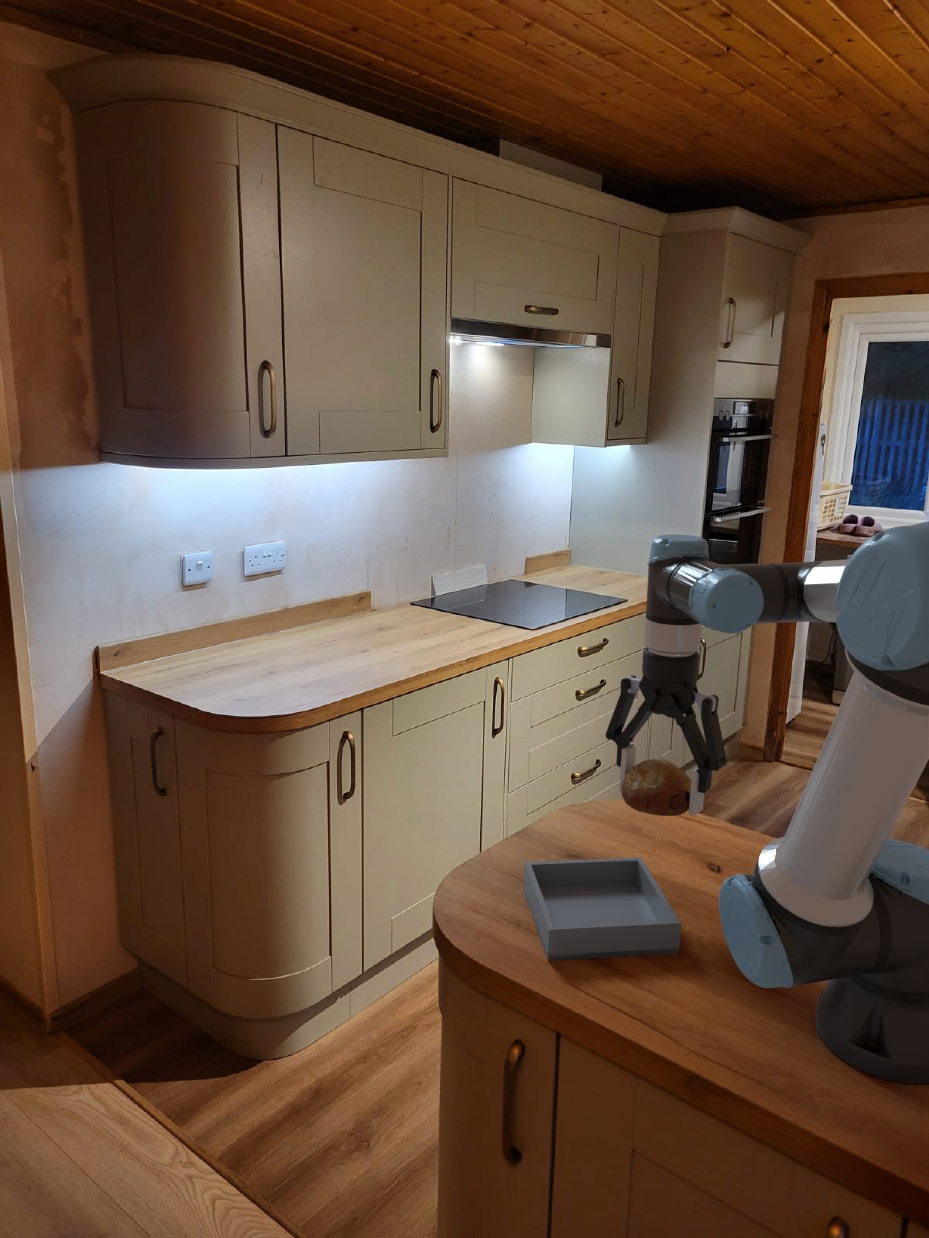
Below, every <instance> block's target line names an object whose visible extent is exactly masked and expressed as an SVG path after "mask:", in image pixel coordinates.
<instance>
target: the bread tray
mask: <svg viewBox="0 0 929 1238" xmlns="http://www.w3.org/2000/svg"><path fill="white" fill-rule="evenodd" d="M523 870H524V871H523V872H524V873H523V892H524V895H525V898H526V901H527V903H528V907H529V910H530V913H531V915H532V918H533V922H534V925H535V928H536V931H537V934H538V936H539V939H540V942H541V946H542V948H543V951H544V954H545V956H546V960H547V961H563V960H564V961H567V960H568V961H569V960H581V959H582V960H583V959H584V960H585V959H601V958H602V959H603V958H604V959H605V958H619V957H624V958H625V957H636V956H637V957H639V956H640V957H641V956H656V955H657V956H659V955H677V954H680V944H681V932H682V931H681V930H682V922H681V921H680V918H679V917H678V915H677V914H676V912H675V910H674V909H673V907H672V906H671V903H670V902H669V901H668V899H667V897H666V895H665V894H664V892H663V891H662V889H661V887H660V886H659V883H658V882H657V881H656V879H655V878H654V876H653V874H652V873H651V871H650V869H649V868H648V866H647V864H646V863H645V862H644V860H643V858H642V856H641V857H622V858H621V857H619V858H618V857H617V858H616V857H615V858H598V859H597V858H595V859H591V858H590V859H575V860H574V859H572V860H571V859H570V860H569V859H568V860H567V859H566V860H549V861H547V860H546V861H525V862H524V869H523Z"/></svg>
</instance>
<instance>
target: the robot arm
mask: <svg viewBox="0 0 929 1238" xmlns="http://www.w3.org/2000/svg"><path fill="white" fill-rule="evenodd" d="M650 545H651V546H650V553H649V560H648V562H647V566H648V567H647V568H648V573H647V589H646V609H645V610H646V611H645V622H644V634H643V645H644V646H645V648H644V650H642V664H641V667H642V668H641V672H642V677H641V678H637V676H636V675H634V674H633V675H629V676H627V677H625V678H623V679H621V680H620V693H619V697H618V699H617V703H616V705H615V708H614V710H613V712H612V713H613V714H612V715H611V718H610V721H609V724H608V726H607V729H606V732H605V738H606V739H607V740H611V741H612V742H613V743H615V745H616V760H615V763H616V766H617V767H619V768H620V773H619V774H620V776H619V777H620V778H619V790H618V791H619V792H621V787H622V783H623V780H624V777H625V775H626V774H627V773H628V771H629V770H630V769H631V768H633V767H634V766H636V755H637V744H634V743H632V742H634V741H635V740H634V739H635V737H636V736H637V735H638V733H639V732H640V731H641V729H642V728H643V726H645V724H646V723H647V721H648V720H649V719H650V718H651V717H652V715H654V714H655V715H663V716H665V717H667V718H669V719H670V718H671V719H674V721H675V723H676V725H677V726H679V727H680V729H681V731H682V733H683V736H684V738H685V741H686V743H687V745H688V748H689V750H690V752H691V755H692V757H693V760H694V762H695V764H696V767H695V768H693V769H692V770H691V792H690V804H689V810H688V815H689V816H696V815H697V814H699V813H700V812H701V811H703V810H704V800H705V794H706V793H707V792H709V791H710V789H711V787H712V779H713V778H712V777H713V771H714V772H718V771H719V770H720V769H722V768H724V767H725V766H727V764H728V759H727V753H726V750H725V749H726V748H725V744H724V739H723V735H722V729H721V725H720V720H719V714H718V708H719V702H720V701H719V700H720V699H719V696H718V695H717V694H712V695H706V694H702V693H701V692H699V689H698V686H697V683H698V682H697V681H698V677H699V669H700V655H701V654H700V653H699V652H698V650H699V649H701V640H702V631H703V629H702V628H703V626H704V627H705V628H709V629H711V630H712V631H716V632H721V633H724V634H727V635H728V634H729V635H730V634H732V635H733V634H734V635H735V634H740V633H743V632H744V631H746V630H747V629H749V628H751V627H753V625H758V624H759V625H761V624H762V625H763V624H765V625H766V624H777V623H807V622H808V623H836V628H837V631H838V633H839V637H840V639H841V642H842V644H843V645H844V647H845V648H844V651H845V656H846V659H847V661H848V664H849V665H850V666H851V668H852V670H853V674H852V677H851V679H850V680H849V681H850V682H849V684H848V686H847V689H845V690H846V691H845V693H844V695H843V698H842V699H841V703H840V705H839V707H838V710H837V712H836V714H835V717H834V719H833V721H832V724H831V725H830V728H829V730H828V733H827V735H826V738H825V740H824V743H823V745H822V748H821V749H820V752H819V755H818V757H817V759H816V762H815V764H814V767H813V769H812V771H811V774H810V776H809V778H808V781H807V782H806V784H805V787H804V790H803V792H802V794H801V797H800V800H799V802H798V805H797V806H796V809H795V811H794V814H793V816H792V818H791V820H790V822H789V823H790V824H789V826H788V828H787V830H786V833H785V834H784V836H781V837H778V838H775V839H773V840H771V841H770V842H768V843H767V844H766V845H765V847H763V848H762V850H761V852H760V854H759V857H758V860H757V861H756V863H755V867H754V869H753V871H752V872H750V873H749V874H743V873H736V874H735V875H734V876H733V875H732V876H730V877H728V878H726V879H725V880H724V881H723V883H722V884H721V886H720V890H719V895H718V912H719V919H720V923H721V924H720V925H721V929H722V933H723V936H724V939H725V942H726V944H727V947H728V950H729V952H730V954H731V956H732V959H733V960H734V962H735V964H736V966H737V968H738V969H739V970H740V972H741V973H742V974H743V975H744V977H745V978H746V979H747V980H749V982H751V983H753V984H754V985H756V986H758V987H760V988H763V989H773V988H783V987H784V988H785V989H790V988H793V987H795V986H802V985H809V984H815V983H819V982H826V981H827V983H826V986H825V988H824V989H823V991H822V992H821V993H820V994H819V996H818V999H817V1002H816V1009H815V1017H814V1022H815V1023H814V1025H815V1029H816V1032H817V1035H819V1037H820V1039H821V1041H822V1043H824V1045H825V1046H826V1047H827V1048H828V1049H829V1050H830V1051H831V1052H832V1053H834V1054H835V1055H836V1056H837V1057H838V1058H840V1059H841V1060H842V1061H844V1062H846V1063H847V1064H848V1065H850V1066H852V1067H854V1068H856V1069H857V1070H860V1071H862V1072H863V1073H866V1074H869V1075H872V1076H873V1077H876V1078H880V1079H883V1080H887V1081H890V1082H891V1081H892V1082H895V1083H896V1082H897V1083H899V1084H900V1083H901V1084H902V1083H903V1084H909V1085H910V1084H911V1085H912V1084H914V1085H919V1084H921V1085H923V1084H929V849H926V848H924V847H923V846H922V847H921V846H919V845H915V844H913V843H909V842H908V841H907V842H906V841H902V840H898V839H893V838H890V836H891V834H892V832H893V830H894V828H895V826H896V824H897V823H898V820H899V818H900V816H901V814H902V812H903V810H904V809H905V807H906V805H907V802H908V800H909V799H910V796H911V794H912V793H913V791H914V790H915V787H916V785H917V783H918V781H919V779H920V777H921V775H922V774H923V771H924V769H925V767H926V765H928V764H927V763H928V761H929V521H924V522H920V523H916V524H912V525H900V526H894V527H891V528H890V527H889V528H887V529H885V530H882V531H880V532H877V533H876V534H874V535H872V536H871V537H869V538H868V539H866V540H865V541H864V542H863V543H862V544H860V546H859V547H858V548H857V549H856V550H855V551H854V553H853V554H852V555H851V557H850V558H849V559H836V560H835V559H831V560H814V561H801V562H800V561H799V562H797V561H796V562H778V563H775V562H774V563H771V562H770V563H741V564H740V563H739V564H738V563H737V564H735V563H734V564H732V563H731V564H723V563H717V562H714V561H713V562H712V561H710V560H709V559H710V554H709V543H708V541H707V539H705V538H704V537H701V536H697V535H690V534H676V533H675V534H671V533H670V534H661V535H658V536H656V537H655V538H654V539H653V540H652V541H651V544H650ZM639 690H640V692H641V695H642V696H643V699H644V700H643V702H642V703H641V704H640V706H639V707H638V709H637V712H636V713H635V714H634V716H633V717H632V718H631V720H630V721H629V723H628V724H627V725H626V722H627V719H628V717H629V714H630V711H631V708H632V706H633V705H634V704H633V703H634V701H635V698H636V696H637V693H638V692H639ZM695 703H696V704H697V710H698V711H700V719H701V725H702V730H703V733H702V731H701V728H700V727H699V723H698V722H697V714H696V712H695V710H694V708H693V705H694V704H695ZM625 725H626V727H625ZM624 727H625V728H624Z"/></svg>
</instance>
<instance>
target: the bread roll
mask: <svg viewBox="0 0 929 1238" xmlns="http://www.w3.org/2000/svg"><path fill="white" fill-rule="evenodd" d="M691 780H692V777H690V776H689V775H688V774H687V773H686V772H685V771H684V770H683V769H681V767H679V766H678V765H677V764H675V763H673V762H672V761H671V760H668V759H665V758H663V757H653V758H648V759H645V760H643V761H640V762H639V763H637V764H635V766H634V767H633V768H631V769H630V770H629V771H628V773H627V774H626V775H625V777H624V780H623V783H622V787H621V797H622V799H623V802H625V805H627V806H629V807H630V808H632V809H633V810H635V811H637V812H639V813H644V814H648V815H653V816H660V817H675V816H676V817H677V816H680V815H684V814H685V813H687V812H689V804H690V792H691Z"/></svg>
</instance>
